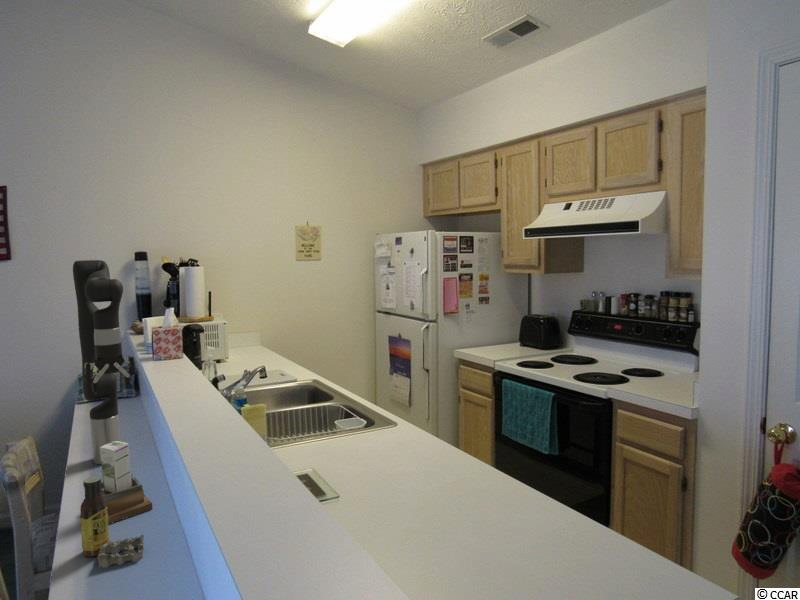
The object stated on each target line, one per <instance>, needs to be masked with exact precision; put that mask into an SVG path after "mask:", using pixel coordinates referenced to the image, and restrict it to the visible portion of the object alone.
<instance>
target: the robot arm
mask: <svg viewBox="0 0 800 600" xmlns="http://www.w3.org/2000/svg"><path fill="white" fill-rule="evenodd" d="M72 276H73V277H72V278H73V283H74V284H73V285H74V290H75V297H76V302H77V303H76V304H77V317H78V318H77V320H78V321H77V322H78V335H79V343H80V352H81V365H82V366H81V367H82V368H81V369H82V370H81V372H82V375H81V377H82V393H83V396H84V399H85V400H86V401H95V400H100V399H102V400H103V399H104V400H103V401H102V402H101V403H99V404H98V405H96V406H93V407H92V408H91V409H90V410H89V421H90V431H91V432H90V433H91V446H92V447H91V448H92V457H93V458H92V459H93V461H92V462H93V463H94V464H96V465H101V453H100V447H102V446H104V445H105V444H108V443H110V442H113V441H119V442H121V432H120V420H119V406H118V403H119V402H118V379H117V376H116V374H115V373H117V372H119V373H120V374H122V375H123V378H122V379H123V388H124V389H125V390H126V389H129V387H130V386H131V380H130V377H131V376H133V375H136V367H135V358H134V357H133V356H132V355H127V357H126V356H125V357H124V356H123V346H122V344H123V343H122V333H121V328H120V315H119V314H120V306H121V301H122V298H123V297H122V296H123V294H124V285H123V283H122V282H121V280H119V279H116V278H111V275H110V269H109V266H108V264H107V262H105V261H104V260H99V259H95V260H94V259H90V260H89V259H86V260H75V261H73V265H72ZM104 302H110V304H109V305H108V306H107V307H104V308H100V309H99V307H98V306H96V304H95V303H104ZM124 363H126V364H128V371H126V369H125V368H124V367H123V364H124ZM95 367H96V370H95V373H94V368H95Z"/></svg>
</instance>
